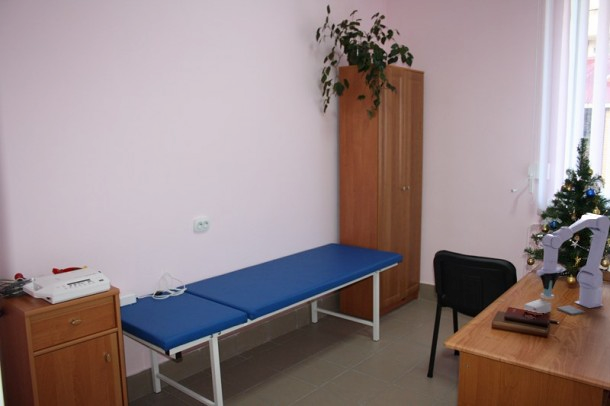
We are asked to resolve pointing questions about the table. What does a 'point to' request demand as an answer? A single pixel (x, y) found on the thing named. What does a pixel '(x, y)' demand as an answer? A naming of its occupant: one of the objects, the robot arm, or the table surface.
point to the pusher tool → (548, 292)
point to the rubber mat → (570, 310)
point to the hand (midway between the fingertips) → (548, 288)
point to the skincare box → (538, 306)
